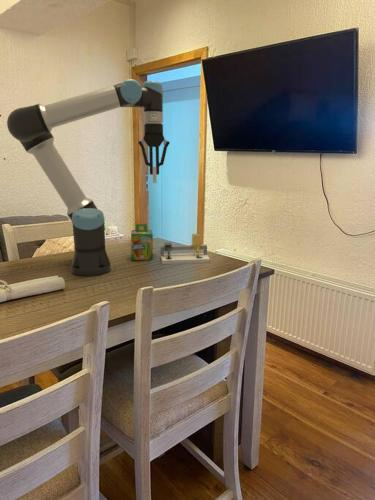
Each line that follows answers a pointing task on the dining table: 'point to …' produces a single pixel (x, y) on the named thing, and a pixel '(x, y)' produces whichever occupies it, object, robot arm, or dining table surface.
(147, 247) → the chalk box
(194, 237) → the block
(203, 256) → the hole plate
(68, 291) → the dining table surface
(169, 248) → the fixed leg
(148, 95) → the robot arm
